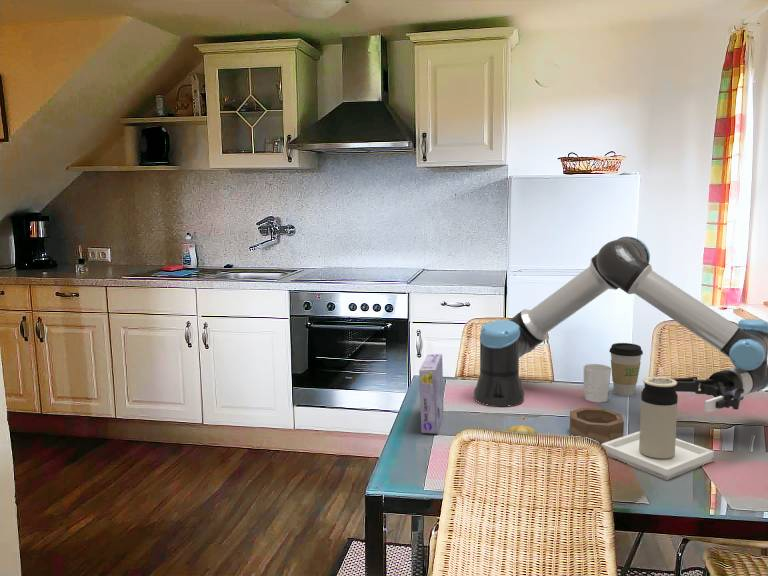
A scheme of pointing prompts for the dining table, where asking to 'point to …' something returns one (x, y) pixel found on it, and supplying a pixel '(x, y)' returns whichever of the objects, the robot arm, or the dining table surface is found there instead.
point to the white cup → (596, 382)
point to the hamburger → (522, 428)
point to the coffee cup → (625, 367)
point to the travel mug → (658, 417)
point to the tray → (666, 468)
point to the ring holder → (596, 424)
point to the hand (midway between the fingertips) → (679, 399)
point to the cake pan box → (431, 393)
